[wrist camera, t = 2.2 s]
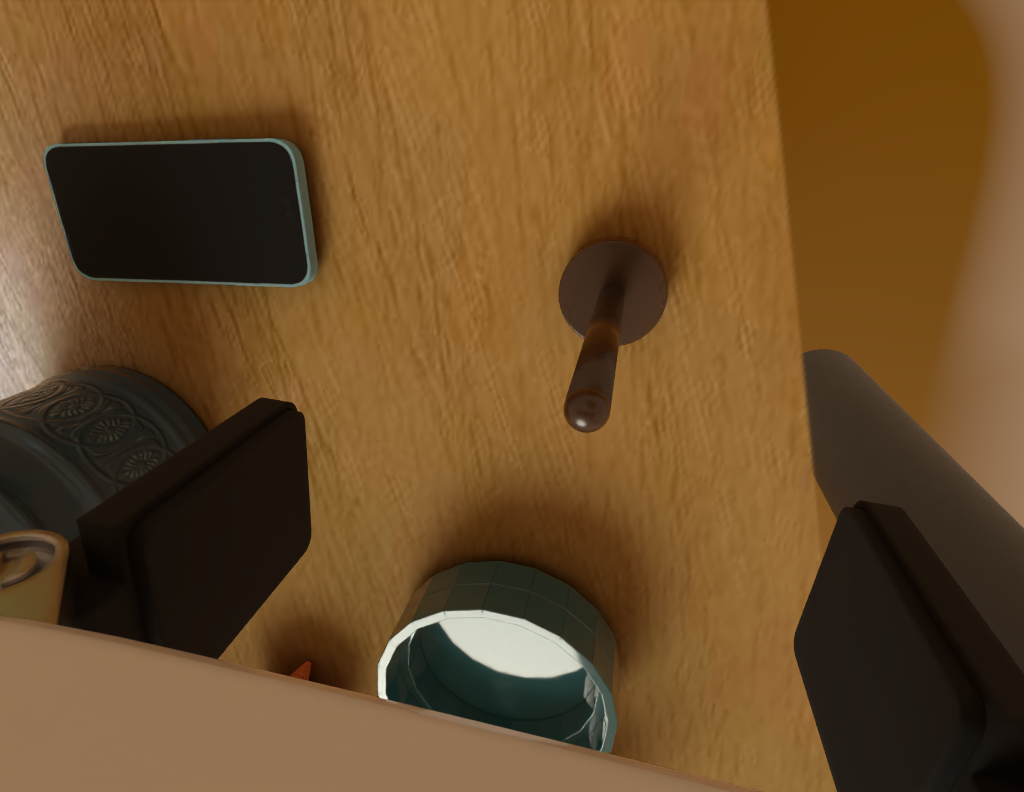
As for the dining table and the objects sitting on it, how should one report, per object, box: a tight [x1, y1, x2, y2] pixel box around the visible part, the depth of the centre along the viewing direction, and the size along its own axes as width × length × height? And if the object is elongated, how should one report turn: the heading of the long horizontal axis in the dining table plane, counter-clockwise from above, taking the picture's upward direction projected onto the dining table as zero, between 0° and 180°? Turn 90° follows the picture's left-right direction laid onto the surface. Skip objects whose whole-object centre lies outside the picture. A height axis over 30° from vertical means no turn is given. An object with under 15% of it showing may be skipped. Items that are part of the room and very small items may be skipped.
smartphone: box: [43, 138, 318, 287], centre depth 31 cm, size 7×1×15 cm
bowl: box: [378, 561, 621, 754], centre depth 37 cm, size 14×14×5 cm
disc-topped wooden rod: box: [559, 236, 667, 433], centre depth 22 cm, size 5×5×16 cm
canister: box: [0, 366, 207, 543], centre depth 31 cm, size 13×13×18 cm
